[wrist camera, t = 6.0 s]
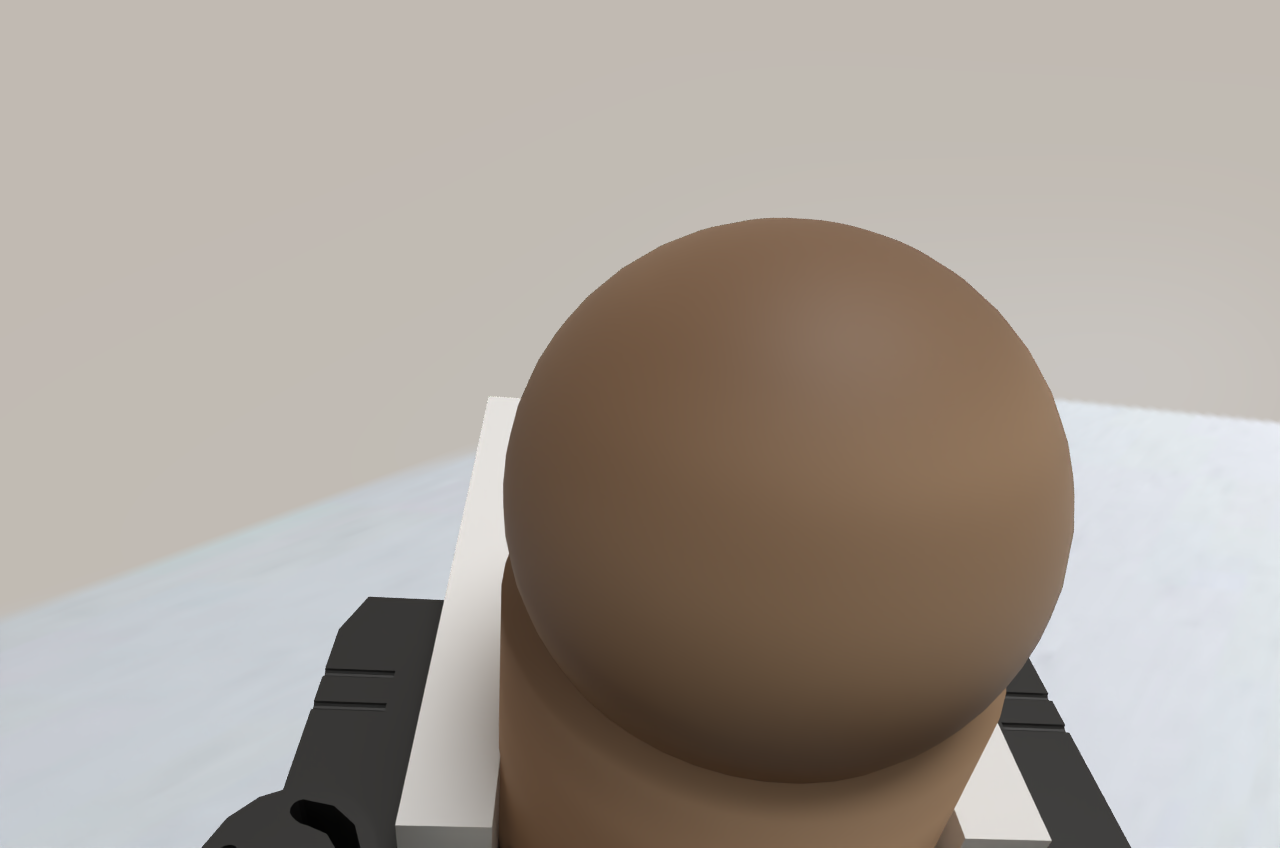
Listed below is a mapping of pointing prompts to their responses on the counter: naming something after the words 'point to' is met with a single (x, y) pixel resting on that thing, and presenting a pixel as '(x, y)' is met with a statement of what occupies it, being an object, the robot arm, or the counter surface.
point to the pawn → (771, 547)
